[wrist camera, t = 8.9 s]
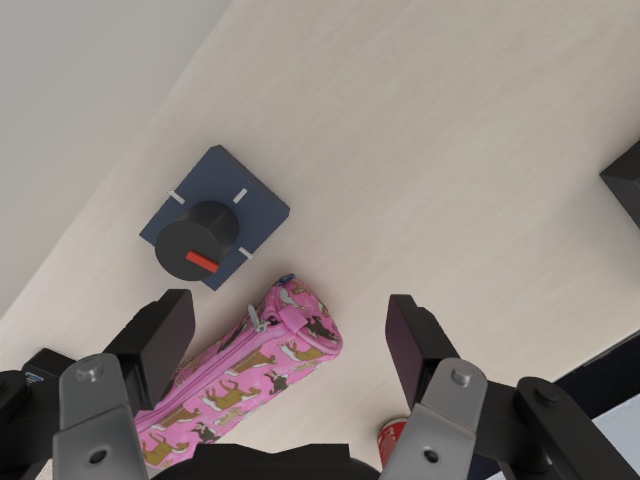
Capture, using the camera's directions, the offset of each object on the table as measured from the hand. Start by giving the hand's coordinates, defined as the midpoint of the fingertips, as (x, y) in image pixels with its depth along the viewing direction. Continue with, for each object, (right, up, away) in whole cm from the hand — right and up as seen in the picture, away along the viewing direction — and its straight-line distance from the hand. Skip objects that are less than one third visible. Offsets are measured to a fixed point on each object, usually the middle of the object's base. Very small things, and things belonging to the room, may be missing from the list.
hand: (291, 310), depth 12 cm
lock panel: (-8, +5, +15) cm, 18 cm away
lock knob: (-8, +4, +13) cm, 16 cm away
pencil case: (-7, -8, +21) cm, 24 cm away
